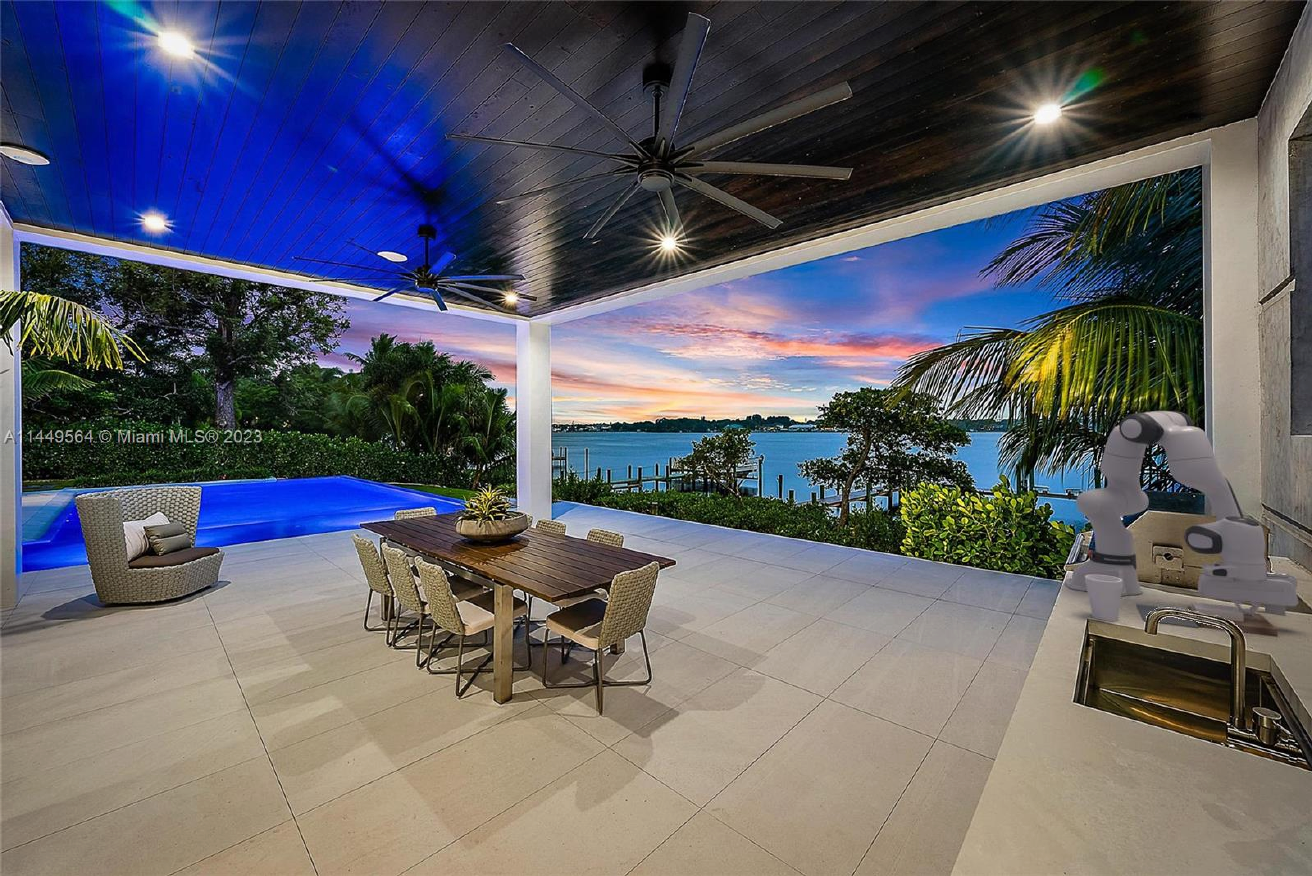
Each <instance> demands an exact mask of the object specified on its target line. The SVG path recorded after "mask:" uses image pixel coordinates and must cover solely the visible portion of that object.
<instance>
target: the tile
mask: <svg viewBox="0 0 1312 876" xmlns="http://www.w3.org/2000/svg"><path fill="white" fill-rule="evenodd" d="M1190 607H1191V610H1192V611H1199V612H1201V613H1204V614H1208V615H1218V616H1220V617H1221V618H1225V619H1226V620H1232V621H1241V622H1244V617H1243V613H1242V612H1241V611H1240V610H1239V609H1238V607H1237V606H1232V605H1221V604H1211V603H1203V602H1202V603H1201V602H1193V601H1192V602H1190Z"/></svg>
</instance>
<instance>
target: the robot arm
mask: <svg viewBox="0 0 1312 876" xmlns="http://www.w3.org/2000/svg"><path fill="white" fill-rule="evenodd" d="M1155 444H1157V445H1160V447H1161V446H1162V448H1163V449H1164V451H1165V454H1166V455H1165V456H1166V459H1167V464H1168V470H1169V472H1170V475H1171V476H1172V478H1173V479H1174V480H1175V481H1176V482H1178V483H1179V484H1181V485H1183V486H1186V487H1188V488H1189V487H1190V488H1191V489H1192V488H1193V489H1195V490H1197V491H1199V492H1201V493H1202V494H1204V495H1205V496H1206V497H1207V499H1208V500H1209V503H1210V505H1211V508H1212V510H1213V513H1214V515H1215V518H1216V521H1214V522H1213V521H1212V522H1208V523H1202V524H1201V523H1200V524H1195V525H1191V526H1189V527H1188V528H1187V529H1186V530H1185V532H1184V536H1183V537H1184V542H1185V544H1186V545H1187V547H1188V548H1189V549H1190V550H1192V551H1193V552H1194V553H1196V554H1202V555H1220V556H1221V557H1222V561H1221V562H1220V561H1219V562H1213V563H1206V564H1203V565H1202V567H1201V569H1202V573H1201V574H1200V575H1199V577H1198V581H1197V582H1198V584H1197V591H1198V594H1199V595H1200V596H1201V597H1202V598H1205V599H1214V600H1226V601H1232V602H1233V603H1234V605H1235V607H1237V608H1238V609H1239V610H1240V611H1241V612H1242V613H1243V616H1250V617H1255V614H1256V613H1255V612H1256V611H1257V610H1258V609H1259V608H1260V607H1261V605H1260V604H1264V605H1265V604H1274V605H1284V606H1285V607H1296V606H1297V605H1298V604H1299V599H1298V595H1297V591H1296V589H1297V588H1298V580H1297V578H1296V577H1295V576H1292V575H1290V574H1288V573H1277V572H1268V571H1267V561H1266V559H1265V555H1264V554H1265V551H1266V541H1265V540H1266V538H1265V533H1264V529H1263V527H1262V525H1261V524H1260V523H1259V522H1258V521H1256V520H1255V519H1251V518H1248V517H1244V515H1243V512H1242V509H1241V507H1240V504H1239V502H1238V499H1237V497H1236V494H1235V491H1234V489H1233V487H1232V485H1231V483H1230V481H1229V480H1228V479H1227V477H1225V476H1224V475H1223V473H1222V472H1221V470H1220V468H1219V465H1218V463H1217V460H1216V457H1215V453H1214V450H1213V447H1212V444H1211V442H1210V440H1209V437H1208V436H1207V433H1206V432H1205V431H1204V430H1203V429H1201V428H1200V427H1198V426H1197V427H1196V426H1194V421H1193V420H1192V417H1190V416H1189V415H1188V414H1186V413H1184V412H1180V411H1177V410H1166V411H1165V410H1154V411H1153V410H1152V411H1146V412H1137V413H1132V414H1129V415H1127V416H1124V418H1123V419H1122V420H1121V421H1120V423H1119V424H1118V425H1117V426H1115V427H1114V428H1112V431H1111V432H1110V433H1109V437H1108V438H1107V441H1106V445H1105V446H1104V452H1103V456H1102V460H1101V463H1100V470H1099V471H1100V472H1101V474H1102V475H1103V476H1104V477H1106V481H1107V483H1106V484H1107V485H1106V487H1105V488H1104V487H1103V488H1102V487H1101V488H1092V489H1088V490H1086V491H1082V492H1080V493H1079V494H1078V496H1077V497H1076V500H1075V505H1076V508H1077V510H1078V511H1079V512H1080V513H1081V514H1082V515H1083V516H1085V518H1087V519H1088V521H1089V522H1090V525H1091V527H1092V530H1093V534H1094V543H1095V546H1094V547H1095V550H1094V551H1093V550H1092V549H1088V550H1086V552H1087V555H1088V558H1089V560H1088V561H1085V562H1083V563H1082V564H1080V565H1078V566H1076V567H1075V568H1074V569H1073V571H1072V574H1071V578H1068V579H1066V580H1065V582H1064V583H1065V586H1066V587H1067V588H1068V589H1070V590H1075V591H1082V592H1088V591H1087V586H1086V584H1085V576H1086V575H1107V576H1113V577H1117V578H1120V579H1122V586H1123V588H1122V590H1121V597H1125V596H1134V595H1140V594H1142V593H1143V590H1142V587H1141V585H1140V582H1139V578H1138V574H1137V567H1138V560H1137V559H1138V558H1137V556H1136V553H1135V546H1134V534H1133V533H1132V531H1131V530H1130V529H1128V528H1126V527H1125V525H1124V524H1123V521H1122V518H1121V517H1122V516H1132V515H1136V514H1139V513H1141V512H1144V511H1145V510H1146V509H1147V508H1148V507H1149V503H1150V500H1149V498H1148V495H1147V493H1146V492H1145V491H1143V490H1142V488H1141V483H1140V473H1141V468H1142V464H1143V460H1144V457H1145V453H1146V448H1147V446H1154V445H1155ZM1243 602H1246V603H1250V605H1252V606H1251V607H1250V608H1249V609H1248V608H1243V607H1241V605H1242V603H1243Z"/></svg>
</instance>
